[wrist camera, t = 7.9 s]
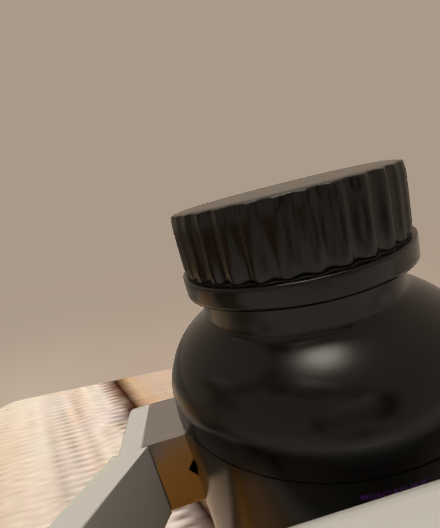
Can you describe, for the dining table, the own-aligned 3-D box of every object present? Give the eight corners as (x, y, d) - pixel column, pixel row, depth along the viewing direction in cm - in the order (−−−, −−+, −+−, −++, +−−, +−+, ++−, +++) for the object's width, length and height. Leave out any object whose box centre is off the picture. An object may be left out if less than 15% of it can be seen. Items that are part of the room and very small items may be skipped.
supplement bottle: (478, 980, 5) (337, 198, 2) (205, 605, 10) (65, 242, 7) (537, 566, 9) (514, 120, 6) (321, 453, 14) (259, 184, 12)
